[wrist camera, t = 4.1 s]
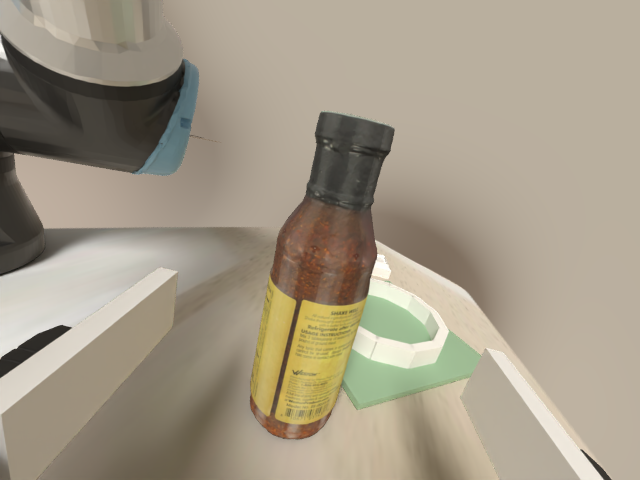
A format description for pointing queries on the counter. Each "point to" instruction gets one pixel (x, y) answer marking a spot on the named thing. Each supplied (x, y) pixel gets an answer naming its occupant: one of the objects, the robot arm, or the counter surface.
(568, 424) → the counter surface
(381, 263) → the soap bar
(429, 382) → the putting mat
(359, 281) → the sauce bottle
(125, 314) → the robot arm
